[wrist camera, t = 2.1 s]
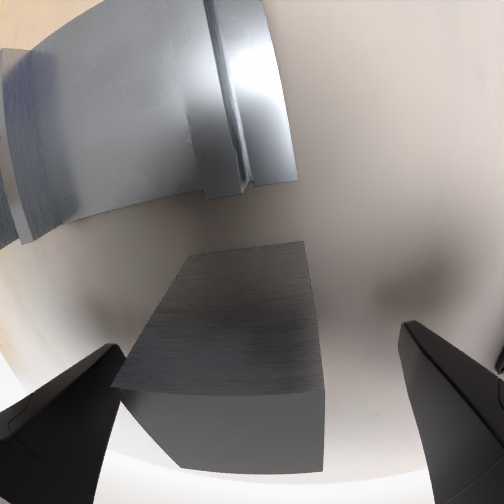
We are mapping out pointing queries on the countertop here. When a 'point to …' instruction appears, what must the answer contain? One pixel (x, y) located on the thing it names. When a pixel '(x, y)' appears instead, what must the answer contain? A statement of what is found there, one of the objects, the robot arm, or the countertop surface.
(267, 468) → the gray block
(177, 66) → the rail
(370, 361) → the countertop surface
